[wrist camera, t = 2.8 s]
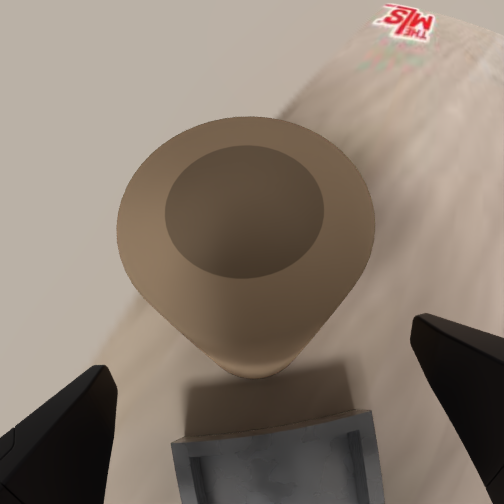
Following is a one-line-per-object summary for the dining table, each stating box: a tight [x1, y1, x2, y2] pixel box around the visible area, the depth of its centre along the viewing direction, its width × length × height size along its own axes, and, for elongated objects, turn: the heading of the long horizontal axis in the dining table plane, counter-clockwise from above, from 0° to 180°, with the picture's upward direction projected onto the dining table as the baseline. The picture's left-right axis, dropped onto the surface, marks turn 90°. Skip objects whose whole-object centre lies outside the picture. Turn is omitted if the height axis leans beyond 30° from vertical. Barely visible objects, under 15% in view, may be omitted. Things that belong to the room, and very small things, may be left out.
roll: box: [117, 117, 375, 379], centre depth 13 cm, size 6×6×13 cm
